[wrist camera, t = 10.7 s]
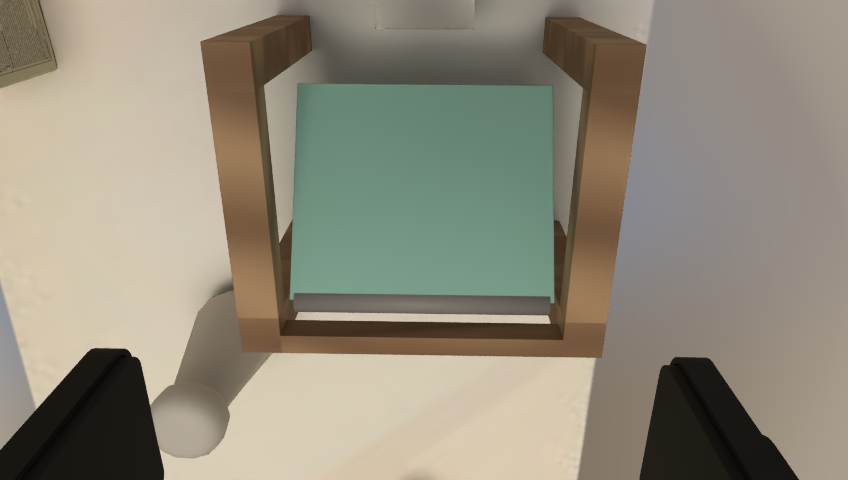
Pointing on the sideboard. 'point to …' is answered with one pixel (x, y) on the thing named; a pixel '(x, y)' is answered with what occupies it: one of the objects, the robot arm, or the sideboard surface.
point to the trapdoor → (423, 199)
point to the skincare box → (23, 42)
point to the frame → (280, 333)
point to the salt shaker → (205, 382)
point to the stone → (424, 14)
